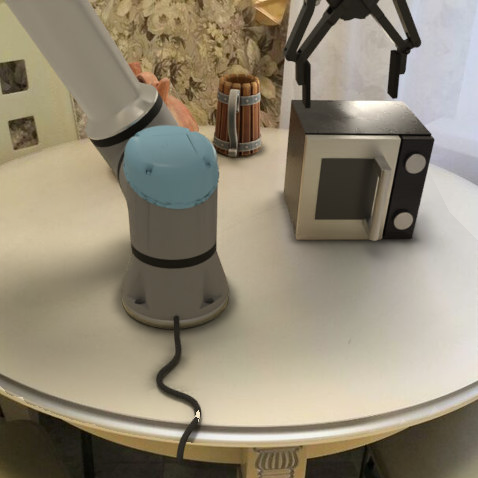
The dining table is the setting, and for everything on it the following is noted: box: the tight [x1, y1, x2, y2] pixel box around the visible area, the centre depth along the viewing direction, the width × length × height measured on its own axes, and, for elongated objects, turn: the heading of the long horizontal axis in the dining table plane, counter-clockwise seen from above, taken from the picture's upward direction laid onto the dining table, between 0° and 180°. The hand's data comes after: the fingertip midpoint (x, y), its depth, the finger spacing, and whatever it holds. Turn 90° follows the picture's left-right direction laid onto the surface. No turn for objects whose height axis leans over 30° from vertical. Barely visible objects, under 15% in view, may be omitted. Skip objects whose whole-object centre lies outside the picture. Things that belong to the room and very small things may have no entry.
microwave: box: [283, 99, 435, 239], centre depth 106 cm, size 18×20×18 cm
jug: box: [128, 61, 200, 133], centre depth 120 cm, size 18×18×20 cm
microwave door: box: [294, 135, 401, 242], centre depth 98 cm, size 7×15×18 cm, turn 94°
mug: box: [212, 72, 262, 158], centre depth 130 cm, size 16×11×15 cm
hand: (349, 100), depth 96 cm, fingers open, 13 cm apart
